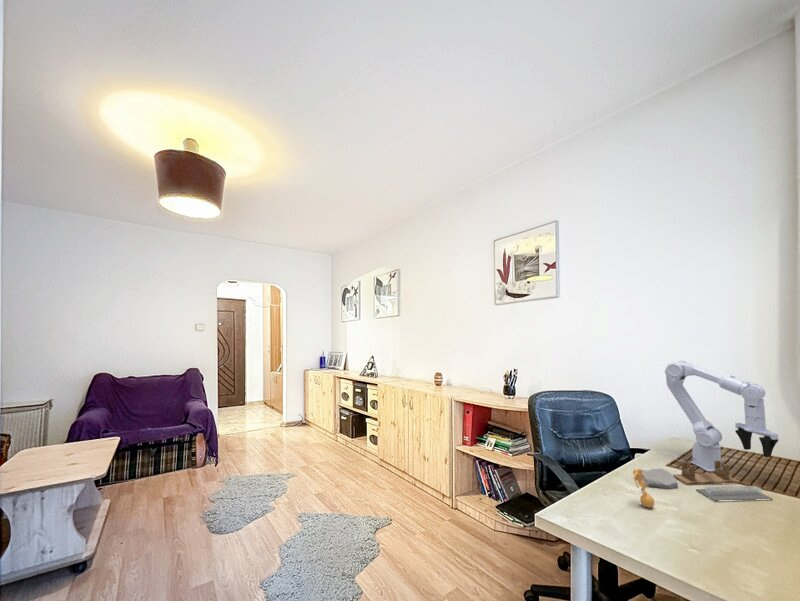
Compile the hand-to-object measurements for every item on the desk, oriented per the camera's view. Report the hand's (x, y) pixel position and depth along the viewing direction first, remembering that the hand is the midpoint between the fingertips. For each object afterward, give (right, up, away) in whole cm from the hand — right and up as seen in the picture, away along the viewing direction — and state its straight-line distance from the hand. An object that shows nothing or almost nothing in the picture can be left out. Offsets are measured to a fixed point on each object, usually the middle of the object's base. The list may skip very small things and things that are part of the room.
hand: (757, 452), depth 147 cm
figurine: (-54, -11, -17) cm, 57 cm away
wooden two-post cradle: (-19, -11, +1) cm, 22 cm away
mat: (-19, -11, -11) cm, 24 cm away
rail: (-19, -10, -11) cm, 24 cm away
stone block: (-38, -12, -1) cm, 40 cm away
